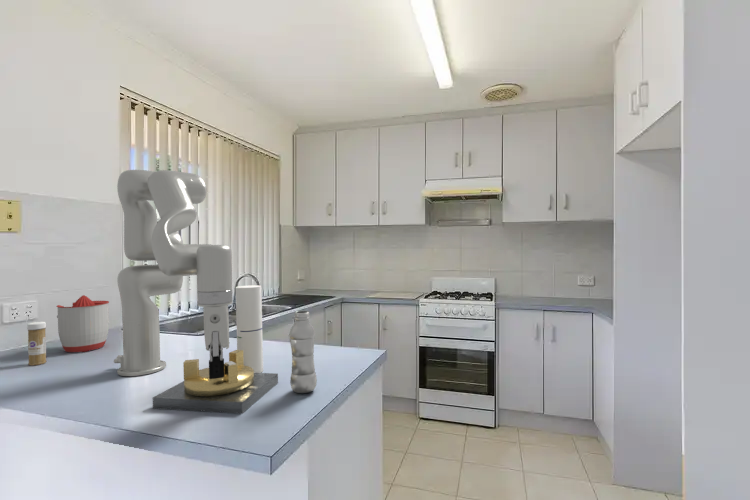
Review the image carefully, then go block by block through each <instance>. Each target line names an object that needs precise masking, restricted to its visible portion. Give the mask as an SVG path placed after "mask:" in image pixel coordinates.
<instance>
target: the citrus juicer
mask: <svg viewBox="0 0 750 500" xmlns="http://www.w3.org/2000/svg"><path fill="white" fill-rule="evenodd" d="M109 303H110V301H109V300H92V299H90V298H89V297H88V296H86V295H84V294H83V295H81V296H79V298H78V299H76V301H75V302H72V305H71V306H64V305H60V304H58V305H56V307H57V315H56V318H57V331H58V332H57V333H58V337H59V340H60V343H61V347H62V349H63V350H64V352H67V353H79V352H81V353H87V352H89V351H93V350H96V349H97V350H98V349H100V348H101V349H102V348H103V347H104V346H105V344H106V342H107V338H108V335H109V330H110V329H109V328H110V319H109V318H110V315H109V309H110V308H109Z"/></svg>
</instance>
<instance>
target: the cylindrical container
mask: <svg viewBox="0 0 750 500" xmlns="http://www.w3.org/2000/svg"><path fill="white" fill-rule="evenodd" d="M262 303H263V301H262V285H257V284H256V285H254V284H253V285H252V284H251V285H239V286H236V287H235V313H236V315H235V316H236V317H235V319H236V322H235V323H236V350H243V360H244V366H249V367H251V368H252V369H253V370H254V373H264V372H263V371H264V352H263V351H264V347H263V345H264V344H263V341H264V340H263V307H262V306H263V304H262Z"/></svg>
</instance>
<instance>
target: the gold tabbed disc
mask: <svg viewBox="0 0 750 500" xmlns="http://www.w3.org/2000/svg"><path fill="white" fill-rule="evenodd" d="M182 364H183V381H184V390H185V392H186V393H188V394H191V395H196V396H215V395H222V394H227V393H232V392H235V391H238V390H241V389H244V388H246V387H248V386H249V385H251V384H252V383H253V381H254V370H253V369H252V368H251V367H249V366H244V360H243V350H237V349H235V350H233V351H230V352H229V353H228V361H224V377H223V378H215V379H210V378H209V367H205V368H201V369H200V359H199V358H198V359H197V358H195V359H185V360H184V361H183V363H182Z"/></svg>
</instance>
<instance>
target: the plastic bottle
mask: <svg viewBox="0 0 750 500" xmlns="http://www.w3.org/2000/svg"><path fill="white" fill-rule="evenodd" d="M293 319H294V321H295V322H293V324H292V326H291V328H290V329H289V333H288V336H289V343H290V349H291V373H290V380H289V381H290V382H289V384H290V388H291V390H292V391H293V392H295V393H297V394H306V393H307V394H308V393H311V392H314V390H315V389H316V387H317V383H318V382H317V381H318V379H317V374H316V373H317V372H316V368H315V360H314V351H315V350H314V349H315V341H316V340H315V339H316V338H315V337H316V330H315V328H314V326H313V324H311V322H310V319H311V317H310V311H308V310H297V311H294V317H293Z"/></svg>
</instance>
